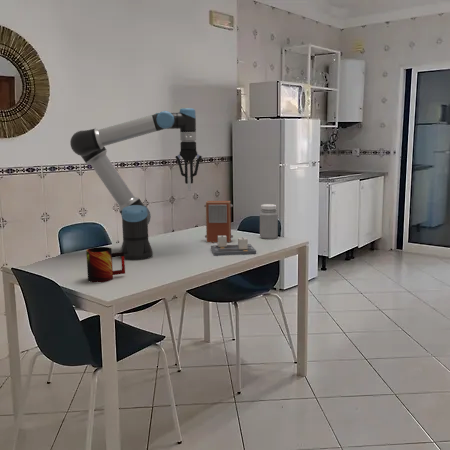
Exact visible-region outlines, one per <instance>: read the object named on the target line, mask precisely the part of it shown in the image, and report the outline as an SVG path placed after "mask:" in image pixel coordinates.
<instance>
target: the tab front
mask: <svg viewBox="0 0 450 450" xmlns="http://www.w3.org/2000/svg"><path fill="white" fill-rule="evenodd" d="M248 244H249V243H248V238H247V237H237V245H238V248H239V250H240V249H248Z"/></svg>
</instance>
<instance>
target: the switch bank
mask: <svg viewBox="0 0 450 450" xmlns="http://www.w3.org/2000/svg"><path fill="white" fill-rule="evenodd" d="M210 250H211V252H212V254H213V256H214V257H216V256H219V257H220V256H221V257H222V256H239V255H240V256H242V255H243V256H244V255H257V250H256V249H255V247H254V246H253V245H252V244H251V243H248V249H240V250H239V248H238V244H227V247H218V244H217V245H215V244H214V245H210Z"/></svg>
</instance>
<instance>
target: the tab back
mask: <svg viewBox="0 0 450 450" xmlns="http://www.w3.org/2000/svg"><path fill="white" fill-rule="evenodd" d="M217 245H218V247H227V245H228V242H227V237H226V235H225V236H222V235H221V236H218V242H217Z"/></svg>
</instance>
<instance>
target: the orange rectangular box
mask: <svg viewBox="0 0 450 450" xmlns="http://www.w3.org/2000/svg"><path fill="white" fill-rule="evenodd" d="M233 206H234V205H233V204H232V203H231V200H207V201H205V204H204V208H205V224H206V225H205V226H206V227H205V228H206V229H205V230H206V231H205V233H206V234H205V235H204V238H206V243H218V236H221V235H222V236H225V235H226V237H227V243H231V242H232V238H233V237H234V235H232V221H231V220H232V219H231V218H232V217H231V216H232V215H231V214H232V211H231V208H233Z"/></svg>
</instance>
